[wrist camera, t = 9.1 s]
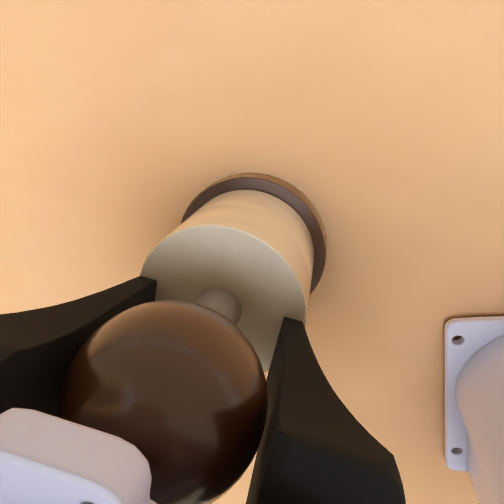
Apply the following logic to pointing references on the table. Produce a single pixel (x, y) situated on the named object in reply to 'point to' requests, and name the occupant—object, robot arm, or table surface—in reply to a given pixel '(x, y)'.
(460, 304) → the table surface
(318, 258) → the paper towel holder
